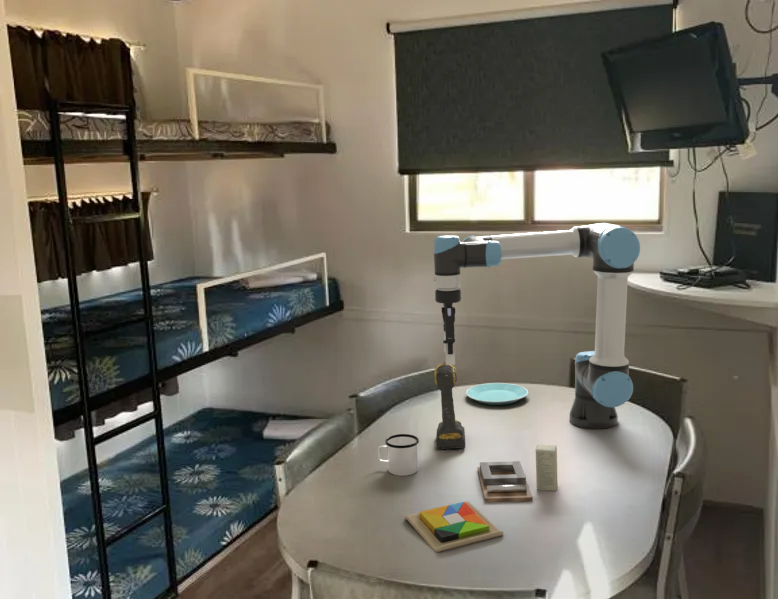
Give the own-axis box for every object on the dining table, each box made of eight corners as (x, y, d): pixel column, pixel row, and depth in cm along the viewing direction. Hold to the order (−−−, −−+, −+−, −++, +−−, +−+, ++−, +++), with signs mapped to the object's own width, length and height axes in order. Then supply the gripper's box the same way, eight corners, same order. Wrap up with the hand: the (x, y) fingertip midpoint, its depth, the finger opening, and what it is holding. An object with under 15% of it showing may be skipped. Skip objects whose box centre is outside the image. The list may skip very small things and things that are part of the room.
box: (557, 484, 204) (558, 445, 202) (555, 491, 200) (555, 451, 198) (537, 482, 206) (537, 443, 204) (535, 489, 202) (535, 449, 200)
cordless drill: (465, 428, 248) (463, 353, 243) (465, 452, 228) (463, 370, 224) (437, 428, 249) (435, 353, 244) (434, 452, 229) (432, 371, 225)
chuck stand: (520, 469, 215) (520, 459, 214) (532, 500, 195) (532, 489, 194) (477, 470, 215) (477, 460, 214) (485, 502, 195) (484, 491, 195)
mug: (423, 465, 220) (423, 435, 218) (414, 478, 211) (413, 447, 209) (384, 461, 224) (383, 431, 222) (373, 474, 215) (371, 443, 213)
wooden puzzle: (438, 556, 171) (437, 541, 170) (402, 521, 188) (402, 507, 187) (505, 538, 178) (505, 524, 177) (465, 506, 195) (465, 493, 194)
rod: (525, 489, 199) (525, 483, 199) (527, 492, 197) (527, 486, 197) (487, 490, 199) (487, 484, 199) (487, 493, 198) (487, 487, 197)
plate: (463, 408, 269) (463, 400, 268) (468, 389, 290) (467, 382, 290) (528, 409, 265) (528, 401, 264) (527, 390, 286) (527, 382, 286)
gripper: (434, 282, 239) (436, 348, 243) (436, 296, 214) (438, 370, 218) (458, 281, 239) (459, 347, 242) (463, 295, 214) (464, 369, 218)
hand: (449, 358), depth 230 cm, fingers open, 13 cm apart
